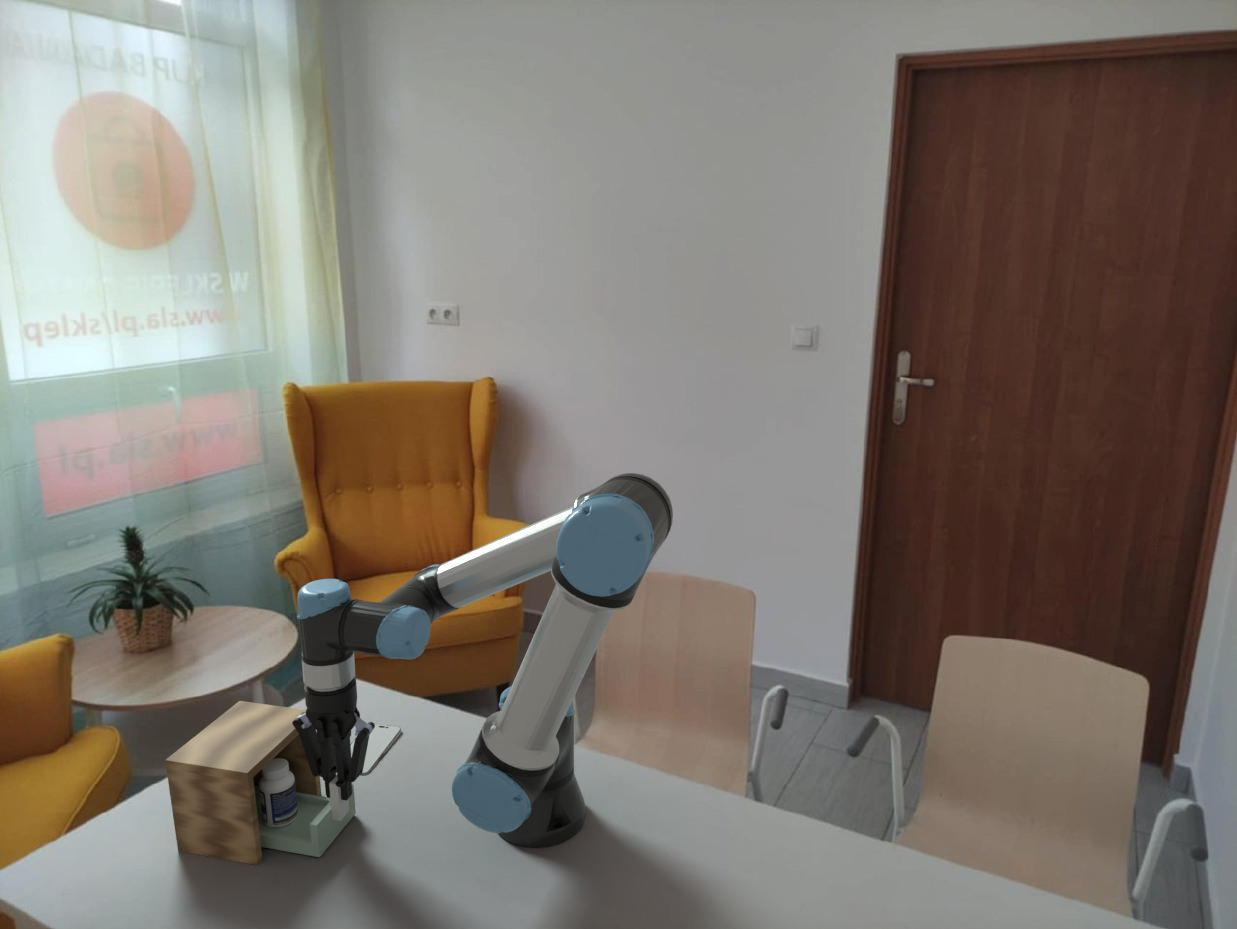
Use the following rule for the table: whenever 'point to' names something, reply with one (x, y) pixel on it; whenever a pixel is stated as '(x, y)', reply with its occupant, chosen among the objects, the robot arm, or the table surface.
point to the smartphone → (378, 745)
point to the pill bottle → (278, 794)
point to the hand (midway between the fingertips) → (340, 814)
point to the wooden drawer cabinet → (232, 779)
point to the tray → (305, 826)
